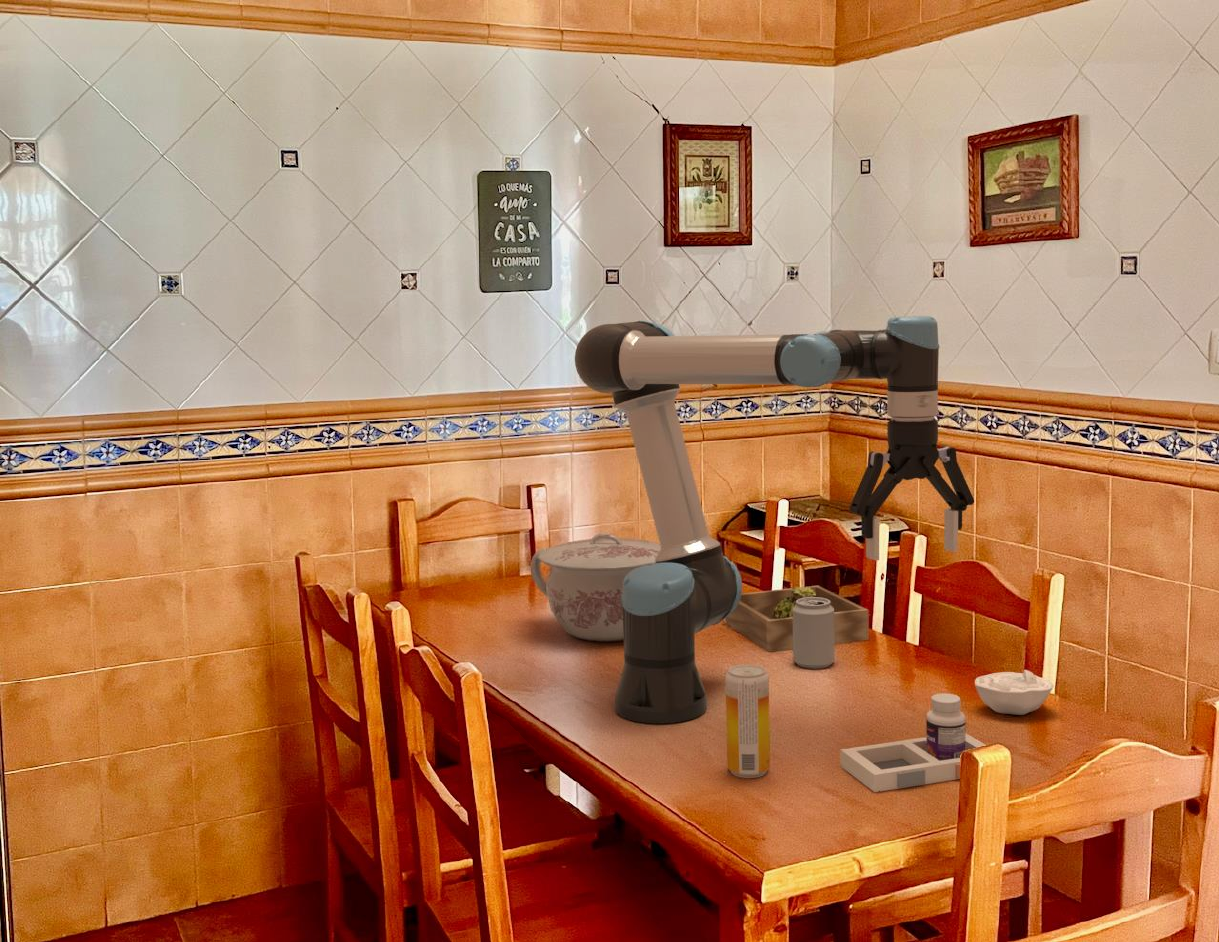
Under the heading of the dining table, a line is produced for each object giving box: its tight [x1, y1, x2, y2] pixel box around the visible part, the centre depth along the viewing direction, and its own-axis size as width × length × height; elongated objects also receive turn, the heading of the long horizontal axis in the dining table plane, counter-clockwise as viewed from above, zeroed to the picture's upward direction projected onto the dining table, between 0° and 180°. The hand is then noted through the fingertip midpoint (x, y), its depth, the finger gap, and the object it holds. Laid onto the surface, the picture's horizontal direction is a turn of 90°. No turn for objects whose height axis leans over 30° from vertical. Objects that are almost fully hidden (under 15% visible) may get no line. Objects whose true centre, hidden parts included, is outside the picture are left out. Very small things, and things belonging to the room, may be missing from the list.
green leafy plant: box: [771, 586, 816, 619], centre depth 246 cm, size 17×16×10 cm
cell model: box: [974, 669, 1055, 716], centre depth 197 cm, size 10×12×7 cm
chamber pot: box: [529, 532, 661, 643], centre depth 250 cm, size 28×28×21 cm
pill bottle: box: [925, 692, 967, 761], centre depth 176 cm, size 5×5×10 cm
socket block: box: [840, 733, 987, 793], centre depth 175 cm, size 20×10×2 cm, turn 107°
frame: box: [725, 585, 870, 653], centre depth 247 cm, size 21×22×6 cm
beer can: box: [724, 664, 771, 779], centre depth 176 cm, size 6×6×15 cm
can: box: [792, 597, 836, 670], centre depth 225 cm, size 8×8×12 cm
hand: (912, 555), depth 191 cm, fingers open, 13 cm apart
